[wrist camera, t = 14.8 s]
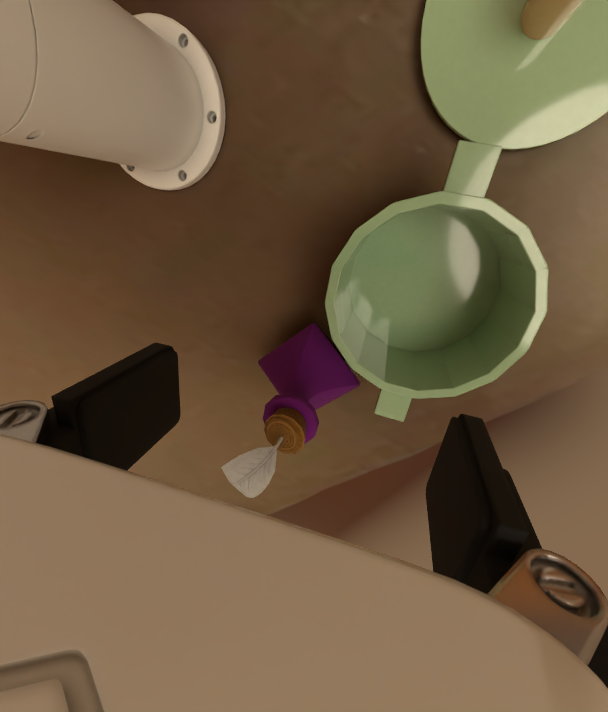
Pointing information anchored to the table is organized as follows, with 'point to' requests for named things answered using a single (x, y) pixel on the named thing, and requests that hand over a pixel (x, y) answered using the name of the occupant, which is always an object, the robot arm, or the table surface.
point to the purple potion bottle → (292, 403)
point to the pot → (438, 289)
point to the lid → (516, 68)
